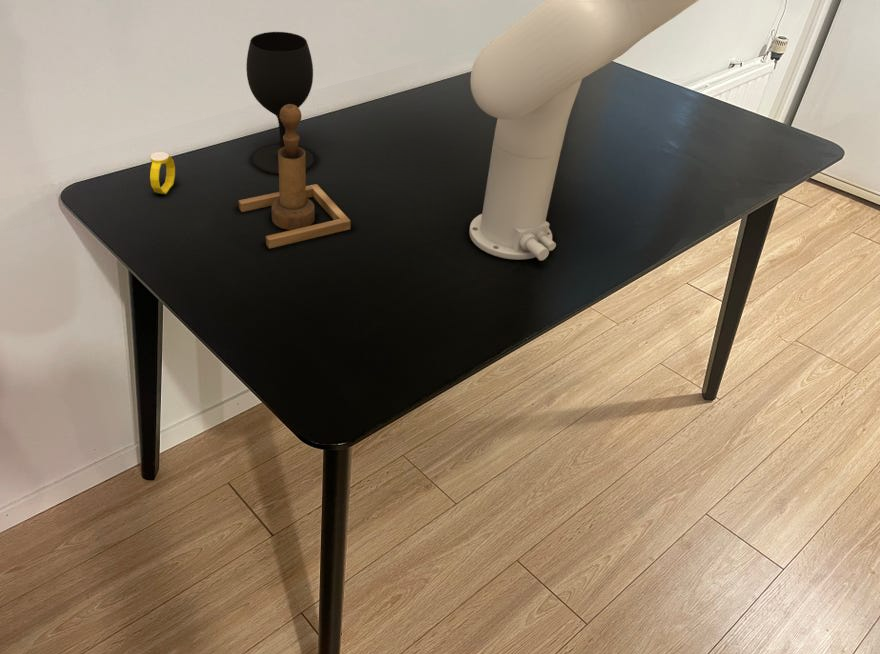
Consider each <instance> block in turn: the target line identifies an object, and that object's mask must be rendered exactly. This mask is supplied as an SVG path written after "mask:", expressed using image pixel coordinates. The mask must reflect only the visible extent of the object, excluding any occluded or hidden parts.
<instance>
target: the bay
mask: <svg viewBox="0 0 880 654" xmlns="http://www.w3.org/2000/svg"><path fill="white" fill-rule="evenodd" d="M279 197H280V196H279V191H277V192H272V193H267V194H262V195H258V196H254V197H253V196H252V197H248V198H244V199H239V200H238V209H239V210H240V212H241V213H244V212H249V211H254V210H259V209H263V208H267V207H272V203H273V202H274V201H275V200H276V199H278V198H279ZM306 197H307V198H308V199H309V198H313V199H314V200H315V201H316V202H317V203H318V204H319V205H320V206H321V208H322V209H324V211H325V212H326V213H327V214H328V215H329V216H330V218H331V219H332V220H330V221H329V220H328V221H325V222H321V223H317V224H312V225H310V226H307V227H303V228H299V229H295V230H286V231H282V232H277V233H273V234H269V235H266V236H265V245H266V246H267V248H268V249H275V248H278V247H282V246H287V245H291V244H295V243H299V242H304V241H309V240H312V239H316V238H320V237H323V236H329V235H332V234H335V233H336V234H337V233H342V232H345V231H348V230H351V227H352V226H351V225H352V224H351V223H352V222H351V219H350V218H349V217H348V216H347V215H346V214H345V213H344V212H343V211H342V210H341V209H340V207H339V206H338V205H337V204H336V203H335V202H334V201H333V200H332V199H331V198H330V196H328V195H327V193H326V192H325V191H324V190H323V189H322V188H321V187H320V186H319V184H317V183H315V184H310V185H306Z"/></svg>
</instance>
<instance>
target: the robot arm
mask: <svg viewBox="0 0 880 654" xmlns="http://www.w3.org/2000/svg"><path fill="white" fill-rule="evenodd" d="M699 1H700V0H544V1H542V2H541V3H540V4H539V5H537V6H536V7H535V8H533V9H532V10H531V11H530V12H528V13H527V14H525V15H524V16H523V17H522V18H520V19H519V20H518V21H517V22H514V24H512V25H511V26H509V27H508V28H507V29H506V30H505V31H504V32H502V33H501V34H500V35H498V36H497V37H496V38H494V39H493V40H491V42H489V43H488V44H486V46H485V47H484V48H482V50H481V51H480V52H479V54H478V55H477V56H476V58H475V60H474V62H473V65H472V69H471V72H470V92H471V95H472V97H473V100H474V102H475V103H476V105H477V106H478V107H479V109H480V110H481V111H483V112H484V113H485V114H487V115H488V116H490V117H492V118H495V119H497V120H496V124H495V129H494V136H493V141H492V147H491V154H490V161H489V166H488V167H489V168H488V173H487V180H486V187H485V193H484V199H483V205H482V213H480V214H479V215H477V216H476V217H474V218H473V219H472V221H471V222H470V224H469V232H468V234H469V238H470V241H472V242H473V244H474V245H475V246H476V247H477V248H479V249H480V250H482V251H483V252H484V253H487V254H489V255H492V256H493V257H498V258H501V259H506V260H517V261H519V260H530V259H535V258H536V259H537V260H538V261H544V260H546V259H547V258H548V256H549V254H550V252H551V251H553V250H554V249H555V248H556V246H557V243H556V242H555V241H554V240H553V232H552V230H551V229H550V222H548V221H547V216H548V211H549V206H550V203H551V197H552V193H553V188H554V184H555V179H556V174H557V171H558V165H559V160H560V157H561V151H562V149H563V146H564V145H563V144H564V141H565V140H564V139H565V136H566V131H567V126H568V123H569V120H570V116H571V112H572V109H573V106H574V104H575V101H576V99H577V95H578V93H579V90H580V87H581V86H582V85H581V84H582V81H583V79H584V78H586V77H588V76H590V75H591V74H592V73H594V72H596V71H598V70H599V69H601V68H603V67H604V66H607V65H608V64H610V63H611V62H613V61H615V60H616V59H618V58H620V57H621V56H623V55H624V54H626V53H627V52H629V50H630V49H631V48H633V47H634V46H635V45H636V44H638V43H639V42H640V41H641V40H643V39H644V38H646V37H647V36H648V35H650V34H651V33H652V32H655V30H657V29H659V28H660V27H661V26H663V25H665V24H666V23H668V22H669V21H671V20H673V19H674V18H675V17H677V16H678V15H680V14H682V13H683V12H684V11H685V10H687V9H688V8H690V7H691V6H693V5H694V4H696V3H697V2H699Z"/></svg>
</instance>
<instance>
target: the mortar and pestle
mask: <svg viewBox="0 0 880 654" xmlns="http://www.w3.org/2000/svg"><path fill="white" fill-rule="evenodd" d="M279 116H280V120H281V122H282V124H283V125H284V127H285V135H284V136H283V140H284V144H285V147H282V148H280V149H279V151H278V162H279V175H278V180H279V181H278V183H279V184H278V188H279V189H278V190H279V191H278V192H279V196H280V197H279V198H278V199H276V200H275V201H274V202H273V203H272V206H271V221H272V223H273V224H274V226H276V227H277V228H280V229H282V230H286V231H290V230H295V229H299V228H303V227H307V226H312V225H314V223H315V217H316V215H315V214H316V211H315V209H316V208H315V203H314V202H313V201H312V200H311V199H309V198H307V197H306V186H307V185H306V184H307V183H306V182H307V181H306V180H307V179H306V178H307V176H306V175H307V173H306V171H307V170H306V168H305V151H304V150H303V149H302V148H303V147H301V146H299V142H300V135H299V134H297V128H298V126H299V124H300V123H301V120H302V112H301V110H300V107H299V108H298V107H297V106H295V105H293V104H287V105H285V106H283V107H282V109H281V110H280V115H279ZM300 147H301V148H300Z"/></svg>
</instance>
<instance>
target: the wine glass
mask: <svg viewBox="0 0 880 654" xmlns="http://www.w3.org/2000/svg"><path fill="white" fill-rule="evenodd" d="M313 65H314V64H313V58H312V54H311V51H310V47H309V43H308V40H307V39H306V38H305V37H304V36H302V35H299V34H296V33H293V32H286V31H267V32H262V33H258V34H255V35H254V36H253V37H251V38H250V40H249V45H248V50H247V55H246V65H245V66H246V77H247V84H248V86H249V89H250V91H251V94H252V95H253V97H254V99H255V100H256V101H257V103H259V104H260V106H262V108H264V109H265V110H267V111H268V112H270V113H271V114H273V115H274V116H275V117H276V118H277V122H278V129H279V144H274V145H269V146H266V147H265V146H264V147H262V148H261V149H259V150H257V151H256V152H255V153H254V154H253V156H252V163H253V165H254V166H255V168H257V169H258V170H259V171H262V172H265V173H267V174H271V175H277V176H279V162H278V151H279V149H280V148H282V147H285V144H284V140H283V136H284V135H285V133H286V129H285V127H284V125H283V124H282V122H281V120H280V116H279V115H280V110H281V109H282V107H283V106H285V105H287V104H293V105H295V106H297V107H298V108H299V109H300V107H301V106H302V105H303V104H304V103H305V102H306V100H307V99H308V97H309V95H310V92H311V90H312V87H313V80H314V68H313V67H314V66H313ZM299 147H300V148H302V149H303V150H304V151H305V168H306V171H307V170H309V169H310V168H311V167H312V166H313V165H314V163H315V159H314V155H313V154H312V152H311V151H309V150H308V149H306V148H304V147H301V146H299Z"/></svg>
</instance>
